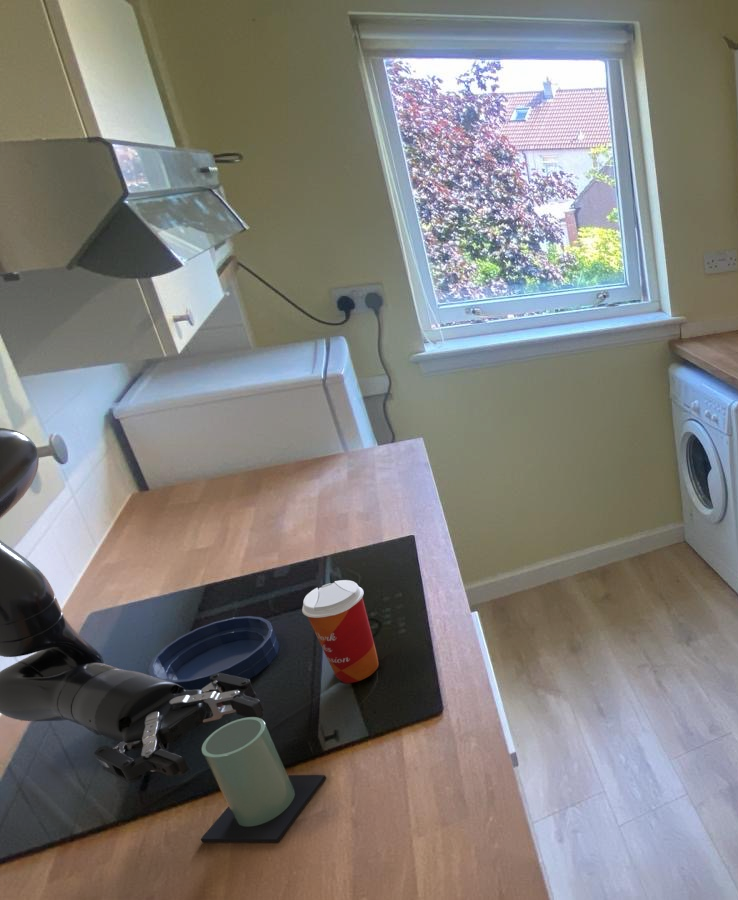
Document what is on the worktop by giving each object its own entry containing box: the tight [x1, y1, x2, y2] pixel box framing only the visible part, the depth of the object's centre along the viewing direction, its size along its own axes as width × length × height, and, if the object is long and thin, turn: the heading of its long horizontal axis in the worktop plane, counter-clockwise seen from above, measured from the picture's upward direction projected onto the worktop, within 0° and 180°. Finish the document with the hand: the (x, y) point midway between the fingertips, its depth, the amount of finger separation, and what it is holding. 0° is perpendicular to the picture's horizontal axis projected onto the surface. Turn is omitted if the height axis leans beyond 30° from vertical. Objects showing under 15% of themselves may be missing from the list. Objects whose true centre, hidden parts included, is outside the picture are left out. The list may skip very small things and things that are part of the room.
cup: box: [201, 717, 295, 827], centre depth 85 cm, size 6×6×11 cm
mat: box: [200, 774, 327, 844], centre depth 88 cm, size 9×9×1 cm
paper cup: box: [301, 579, 379, 684], centre depth 107 cm, size 8×8×14 cm
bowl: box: [148, 615, 280, 690], centre depth 111 cm, size 15×15×4 cm
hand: (222, 737), depth 84 cm, fingers open, 8 cm apart
